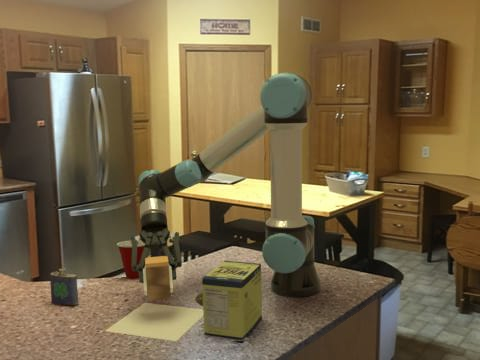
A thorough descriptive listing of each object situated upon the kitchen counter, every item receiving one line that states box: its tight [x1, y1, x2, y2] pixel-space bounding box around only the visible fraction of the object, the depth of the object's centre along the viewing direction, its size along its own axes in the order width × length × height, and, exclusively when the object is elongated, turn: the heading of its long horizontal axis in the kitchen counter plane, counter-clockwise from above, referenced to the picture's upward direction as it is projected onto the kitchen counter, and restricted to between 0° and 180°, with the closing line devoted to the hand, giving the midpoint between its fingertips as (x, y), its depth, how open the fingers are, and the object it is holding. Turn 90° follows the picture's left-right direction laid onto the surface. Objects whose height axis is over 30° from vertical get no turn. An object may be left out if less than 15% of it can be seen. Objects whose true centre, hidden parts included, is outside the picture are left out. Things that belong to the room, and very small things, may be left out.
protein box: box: [201, 260, 263, 344], centre depth 134 cm, size 10×16×16 cm
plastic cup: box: [116, 240, 145, 280], centre depth 178 cm, size 11×11×12 cm
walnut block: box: [145, 255, 172, 302], centre depth 140 cm, size 6×6×10 cm
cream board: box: [104, 302, 204, 342], centre depth 139 cm, size 20×20×1 cm
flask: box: [49, 268, 79, 307], centre depth 154 cm, size 9×3×11 cm, turn 68°
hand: (158, 291), depth 137 cm, fingers closed on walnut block, 6 cm apart
